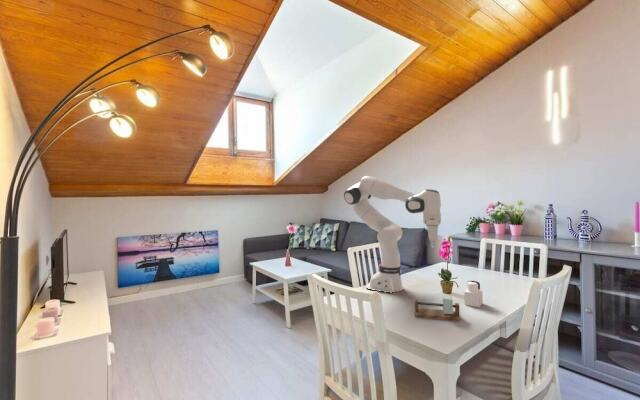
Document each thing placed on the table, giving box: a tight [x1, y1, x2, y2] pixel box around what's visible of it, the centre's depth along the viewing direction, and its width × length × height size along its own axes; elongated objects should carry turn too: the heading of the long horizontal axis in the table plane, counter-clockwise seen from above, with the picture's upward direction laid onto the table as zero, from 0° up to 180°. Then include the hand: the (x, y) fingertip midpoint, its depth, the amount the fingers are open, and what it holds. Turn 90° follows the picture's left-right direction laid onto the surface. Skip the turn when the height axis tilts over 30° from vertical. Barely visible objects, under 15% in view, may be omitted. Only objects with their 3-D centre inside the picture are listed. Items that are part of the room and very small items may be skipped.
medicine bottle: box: [464, 280, 484, 308], centre depth 162 cm, size 7×7×12 cm
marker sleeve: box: [442, 294, 454, 314], centre depth 148 cm, size 4×5×7 cm
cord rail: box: [414, 299, 461, 322], centre depth 150 cm, size 20×8×6 cm, turn 71°
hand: (432, 245), depth 164 cm, fingers open, 8 cm apart
